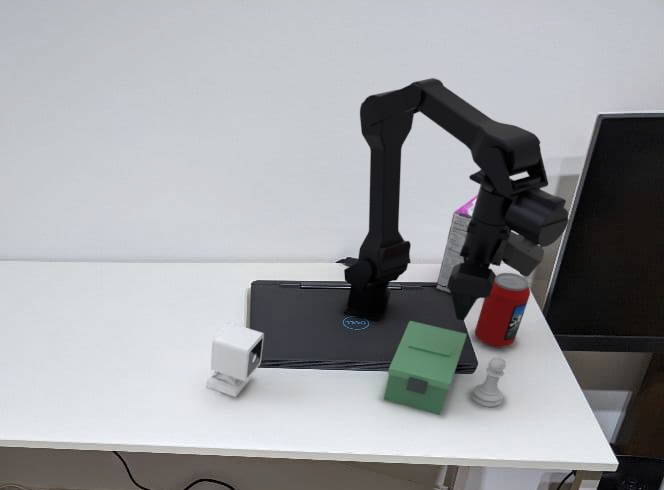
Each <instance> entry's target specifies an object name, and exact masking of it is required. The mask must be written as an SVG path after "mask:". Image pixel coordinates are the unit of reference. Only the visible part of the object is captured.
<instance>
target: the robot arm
mask: <svg viewBox="0 0 664 490" xmlns="http://www.w3.org/2000/svg"><path fill="white" fill-rule="evenodd" d="M418 113H421V114H422V115H424V117H426V118H428V119H429V120H430V121H432V122H433V123H435V124H436V125H437V126H439V127H440V128H441V129H443V130H444V131H445V132H447V133H448V134H450V135H451V136H452V137H454V139H457V141H459V142H460V143H461V144H463V145H464V146H466V147H467V148H468V150H469V151H470V153H471V158H472V161H473V163H475V165H476V166H477V167H478V168H479V169H480V170H478V171H476V172H475V173H472V174H470V175H469V176H468V178H469V180H470V181H473V182H474V183H476V184H479V189H478V193H477V195H478V196H477V195H476V196H477V199H476V203H475V206H474V210H473V213H472V217H471V220H470V222H469V225H468V228H467V231H466V232H467V234H466V238H465V241H464V245H463V247H462V249H461V252H460V256H462V257H463V259H464V263H460V264H458V265H456V266H454V267H453V270H452V272H451V275H450V278H449V281H448V285H447V288H448V289H449V290H450V293H451V294H450V293H449V294H450V296H451V299H452V304H453V308H454V312H455V316H456V319H457V320H458V321H459V320H460V321H464V320H466V318H467V316H468V315H469V313H470V312H471V310H472V308H473V306H474V305H475V304H476V302H477V301H478V300H479V299H484V298H487V297H490V294H491V291H492V288H493V285H494V281H495V278H496V276H497V275H496V274H495V272H494V271H493V269H492V268H490V267H491V266H496V267H501V264H502V263H504V264H505V265H506V266H508V267H510V268H512V269H513V270H515V271H517V272H519V275H520V276H522V277H525V278H526V277H530V275H531V274H532V273H533V272H534V271H535V270H536V268H537V267H539V265H540V264H541V263H542V261H543V259H544V255H545V250H544V248H545V247H548V246H551V245H552V244H554V243H555V242H556V241H557V240H558V239H559V238H560V237H561V236H562V235H563V233H564V232H565V230H566V229H567V227H568V225H569V222H570V220H569V211H568V210H567V209H566V208H565V206H566V204H567V203H566V202H567V200H566V199H565V198H563V197H561V196H559V195H554V194H551V193H549V192H546V191H545V190H543V189H542V188H546V187H548V186H549V180H548V177H547V171H546V168H545V164H544V160H543V155H542V150H541V140H540V139H539V137H538V136H537V135H536V134H535V133H533V132H532V131H529V130H527V129H524V128H522V127H519V126H517V125H513V124H509V123H505V122H500V121H497V120H494V119H492V118H491V117H489V116H488V115H486V114H485V113H483V112H482V111H481V110H479V109H478V108H476V107H475V106H474V105H472V104H470V103H469V102H468V101H466V100H464V99H463V98H462V97H460V96H459V95H457V94H456V93H455V92H453V91H452V90H450V89H449V88H447V87H446V86H445V85H444V83H443V82H442V81H441V80H440V79H438V78H434V77H433V78H426V79H421V80H416V81H413V82H411V83H410V84H408V85H406V86H404V87H402V88H400V89H394V90H389V91H385V92H380V93H376V94H375V93H374V94H370V95H368V96H366V98H364V100H363V102H361V105H360V107H359V120H360V131H361V135H362V137H363V139H364V140H365V142H366V144H367V145H368V147H369V151H370V156H369V157H370V158H369V159H370V160H369V161H370V162H369V203H368V204H369V205H368V206H369V207H368V208H369V209H368V233H366V236H365V238H364V239H363V241H362V243H361V245H360V247H359V251H358V257H357V262H356V263H354V264H352V265H350V266H348V267H346V268H345V269H344V270H343V274H344V275H343V276H344V281H345V282H346V283H347V284H349V285H350V287H349V294H348V300H347V305H346V307H345V308H344V311H343V313H344V314H347V315H350V316H355V317H358V318H364V319H367V320H371V321H375V322H378V321H379V320H381V317H382V315H384V314H385V313H386V310H387V309H388V305H389V301H390V295H391V291H392V289H391V288H389V285H390V282H395V281H397V280H398V279H399V278H400V276H402V275H403V274H404V273H405V272H406V271H407V270H408V266H409V264H411V258H410V257H411V255H410V252H411V246H412V244H411V241H410V240H405V239H404V237H403V235H402V234H401V232H400V231H399V225H400V224H399V223H400V199H401V197H400V195H401V172H402V171H401V170H402V169H401V167H402V149H403V145H404V143H405V142H406V140H407V138H408V136H409V134H410V133H411V131H412V127H413V123H414V122H413V121H414V116H415V114H418ZM524 173H526V174H527V176H525V177H521V178H518V179H512V178H511V177H512V176H516V175H520V174H524Z"/></svg>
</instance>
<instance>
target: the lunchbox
mask: <svg viewBox="0 0 664 490" xmlns="http://www.w3.org/2000/svg"><path fill="white" fill-rule="evenodd" d="M467 336H468V333H464V332H460V331H456V330H451V329H448V328H443V327H439V326H435V325H430V324H427V323H422V322H417V321H413V320H409V322H408V324H407V326H406V328H405V331H404V333H403V334H402V338H401V340H400V342H399V344H398V346H397V349H396V351H395V354H394V356H393V358H392V360H391V362H390V365H389V367H388V371H387V375H388V378H387V382H386V387H385V391H384V395H383V401H386V402H389V403H390V402H391V403H393V404H398V405H402V406H405V407H409V408H412V409H417V410H419V411H420V410H421V411H425V412H427V413H432V414H434V415H435V414H436V415H439V416H440V415H442V411H443V408H444V405H445V402H446V399H447V396H448V393H449V390H450V387H451V386H452V385H451V384H452V381H453V378H454V375H455V372H456V370H457V366H458V363H459V360H460V357H461V354H462V351H463V348H464V346H465V342H466V339H467Z"/></svg>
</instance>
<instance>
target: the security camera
mask: <svg viewBox="0 0 664 490" xmlns="http://www.w3.org/2000/svg"><path fill="white" fill-rule="evenodd" d="M264 341H265V333H264V332H262V331H259V330H258V331H257V330H255V329H252V328H249V327H245V326H242V325H239V324H236V323H232V322H228V323H227V324H226V325H225V326H224V327H223V328H222V329H221V330H220V331H219V332H218V333H217V334H216V335H215V336H214V338H213V340H212V343H211V344H212V345H211V355H210V356H211V357H210V371H213V372H214V373H213V372H212V373H211V374H210V375H209V377H208V378H207V379H206V382H205V383H206V384H205V386H206V388H208V389H211V390H214V391H216V392H219V393H222V394H225V395H228V396H231V397H237V396H238V395H239V393H241V391H242V390H243V389H244V387H246V385H247V384H248V383H249V382H250V379H251V376H252V375H253V374H254V373H255V372H256V370H257V369H258V368H259V367H260V365H261V363H262V357H263V348H264Z"/></svg>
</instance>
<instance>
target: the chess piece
mask: <svg viewBox="0 0 664 490" xmlns="http://www.w3.org/2000/svg"><path fill="white" fill-rule="evenodd" d="M506 367H507V362H506V360H505V359H504V358H503V357H501V356H493V357H491V358H490V360H489V361H488V367H486V368H485V369H484V370H485V373H486V378H485V380H484V381H483V383H481V384H477V385H475V386H474V388H473V390H472V391H471V394H470V396H471V398H472V400H473V401H474V402H475V403H476V404H478V405H479V406H482V407H487V408H492V407H493V408H495V407H497V406H499V405H501V404H502V402H503V399H502V398H503V392H502V390H500V389H499V387H498V383H499V380H500V378H501V377H503V376H504V375H505V371H504V370H505V369H506Z"/></svg>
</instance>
